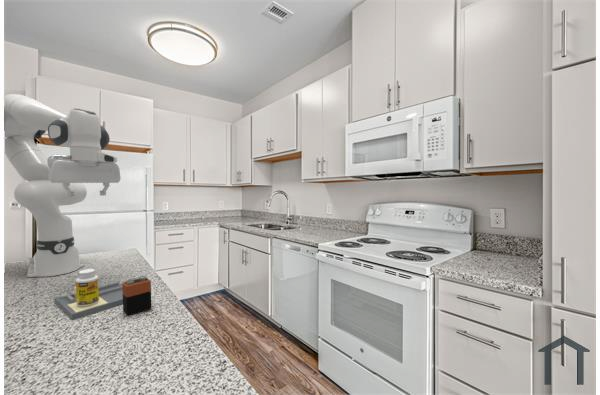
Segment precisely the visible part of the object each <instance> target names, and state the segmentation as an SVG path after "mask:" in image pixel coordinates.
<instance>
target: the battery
mask: <svg viewBox="0 0 600 395" xmlns="http://www.w3.org/2000/svg"><path fill="white" fill-rule="evenodd" d="M121 284H122V290H123V304H122V312H124V313H125V314H126V315H127V316H131V315H134V314H138V313H141V312H145V311H148V310H151V309H152V281H151V280H150V279H149V278H148V277H147V276H146V275H141V276H138V277H137V278H136V279H126V281H124V282H123V281H122V283H121Z"/></svg>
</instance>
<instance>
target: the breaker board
mask: <svg viewBox="0 0 600 395" xmlns="http://www.w3.org/2000/svg"><path fill="white" fill-rule="evenodd" d="M54 303H55V304H56V305H57V306H58V307H59V309H61V310H62V311H63V312H64V314H66V315H67V316H68V317H69V318H70V319H71V320H72V321H74V320H76V319H79V318H83V317H86V316H89V315H93V314H96V313H98V312H99V313H100V312H102V311H106V310H108V309H113V308H115V307H118V306H122V305H123V290H122V283H120V282H118V281H115V282H111V283H108V284H103V285H101V284H99V301H98V302H97V303H96V304H93V305H90V306H85V307H80V306H78V305H77V302H76V298H74V290H72V291H71V293H68V292H66V293H61V294H60V295H59V296H57V297H54Z"/></svg>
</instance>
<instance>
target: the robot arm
mask: <svg viewBox="0 0 600 395" xmlns="http://www.w3.org/2000/svg"><path fill="white" fill-rule="evenodd" d="M4 96H5V106H4V131H5V137H4V139H5V152H4V154H5V156H6V158H7V159H8V161H9V162H10V164H11V165H12V166H13V168H14V169H15V170H16V172H17V174H19V176H20V177H21V178H22V179H23V180H25V182H21V183H18V184H17V185H16V187H15V189H14V192H13V196H14V199H15V201H16V202H17V203H18V205H20V206H21V207H24V208H25V209H27V210H28V211H29V212H30V214H32V216H33V218H34V220H35V221H36V228H37V241H36V249H37V250H36V252H35V253H34V255H33V257H29V259H28V260H29V261H28V262H29V264H30V266H28V270H27V274H26V277H27V278H34V277H35V278H36V277H42V278H43V277H54V276H61V275H65V274H69V273H73V272H75V271H77V270H79V269H81V268H83V267H85V263H82V262H81V259H80V251H79V249H78V247H75V238H74V236H73V222H72V219H71V217H69V216H67V215H65V214H63V213H62V212H61V210H60V207H61V206H71V205H75V204H78V203H81V202H83V201H85V199H86V198H87V191H88V190H87V187H86V185H84V184H98V183H99V184H102V186H103V188H102V190H99V196H107V190H108V189H109V187H110V183H111V184H118V183H120V181H121V172H120V167H119V165H118V164H117V162H118V158H117V157H116V156H114V155H111V154H108V153H105V152H102V150H104V149H106V148H107V147H108V145H109V144H110V134H109V132H108V131H107V130H106V128H105V127H104V126H102V125H101V121H100V118H99V115H98V114H97V113H96V112H94V111H91V110H85V109H82V108H71V109H70V110H69V113H68V115H66V114H64V113H62V112H60V111H58V110H55V109H54V108H52V107H50V106H48V105H46V104H44V103H42V102H40V101H38V100H37V99H35V98H32V97H29V96H28V95H27V96H26V95H23V94H19V93H10V94H6V95H4ZM46 132H47V134H48V135H47V136H48V139H49V140H50V141H51V142H52V144H54V145H55V146H58V147H63V148H68V149H69V155H63V154H61V155H60V154H53V155H51V156H49V157H48V158H47V157H46V155H45V154H44V153H43V151H42V150H41V149H40V147H39V146H38V145H37V144H36V142H35V139H37V140H38V139H41V138H42V137H43V135H45V133H46Z"/></svg>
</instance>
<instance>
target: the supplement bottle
mask: <svg viewBox="0 0 600 395" xmlns="http://www.w3.org/2000/svg"><path fill="white" fill-rule="evenodd" d="M99 285H100V284H99V276H98V275H97V274H96V269H93V268H87V269H83V270H80V271H78V277H77V278H76V279H75V287H76V302H77V305H78V306H80V307H85V306H90V305H93V304H96V303H97V302H98V301H99Z"/></svg>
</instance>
